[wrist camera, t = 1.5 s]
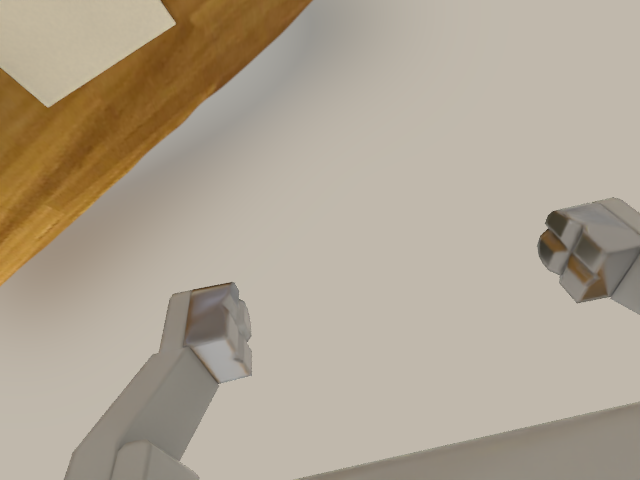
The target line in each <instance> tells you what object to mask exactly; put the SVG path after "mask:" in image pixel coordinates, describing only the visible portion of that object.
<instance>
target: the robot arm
mask: <svg viewBox="0 0 640 480" xmlns="http://www.w3.org/2000/svg"><path fill="white" fill-rule="evenodd" d="M545 224H546V226H547V227H548V229H547V230H546V231H545V232H544V233H543V234H542V235H541V236H540V238H539V242H538V245H537V247H538V254H539V257H540V259H541V261H542V263H543V264H544V265H545V267H546V268H547V269H548V270H549V271H551V272H554V273H556V274H558V275H560V281H559V283H560V284H561V285H562V287H563V288H564V289H565V290H566V291H567V292H568V293H569V295H570V296H571V297H572V298H573V299H574V300H575V302H576V303H581V302H586V301H591V300H596V299H601V298H607V297H611V299H612V300H614V301H616V302H618V303H620V304H621V305H623V306H625V307H627V308H628V309H630V310H632V311H634V312H636V313H637V314H639V315H640V213H639V212H637V211H636V210H635V209H633V208H632V207H630V206H629V205H628V204H627V203H625V202H624V201H623V200H620V199H618V198H614V197H613V198H609V199H605V200H600V201H595V202H592V203H586V204H582V205H577V206H573V207H569V208H565V209H561V210H556V211H553V212H551V213H550V214H549V215H548V217H547V219H546V222H545ZM250 337H251V323H250V316H249V313H248V309H247V307H246V305H245V302H244V301H242V300H240V299H239V290H238V288H237V286H236V285H235V283H234V282H230V283H225V284H220V285H214V286H210V287H204V288H199V289H194V290H190V291H185V292H180V293H175V294H173V295H172V297H171V298H170V300H169V305H168V310H167V315H166V320H165V325H164V330H163V335H162V339H161V345H160V350H159V353H157V354H153V355H152V356H151V357H150V358H149V360H148V361H147V362H146V363H145V365H144V366H143V367H142V368H141V369H140V371H139V372H138V373H137V374H136V376H135V377H134V378H133V379H132V380H131V382H130V383H129V384H128V385H127V387H126V388H125V389H124V390H123V392H122V393H121V394H120V395H119V396H118V398H117V399H116V400H115V401H114V403H113V404H112V405H111V406H110V407H109V409H108V410H107V411H106V412H105V414H104V415H103V416H102V417H101V419H100V420H99V421H98V422H97V424H96V425H95V426H94V427H93V428H92V430H91V431H90V432H89V433H88V435H87V436H86V437H85V438H84V439H83V441H82V442H81V443H80V444H79V446H78V447H77V448H76V449H75V451H74V452H73V453H72V457H71V460H70V463H69V466H68V469H67V472H66V475H65V478H64V480H199V477H198V475H197V474H196V473H195V472H194V471H192V470H191V469H189V468H188V467H186V466H185V465H183V464H182V463H181V462H179V461H180V459H181V457H182V455H183V453H184V452H185V450H186V448H187V446H188V444H189V442H190V440H191V438H192V436H193V434H194V433H195V431H196V429H197V427H198V425H199V423H200V421H201V419H202V417H203V415H204V413H205V412H206V410H207V408H208V406H209V404H210V402H211V400H212V398H213V396H214V394H215V392H216V391H217V389H218V387H219V385H218V384H219V383H224V382H227V381H232V380H236V379H240V378H244V377H248V376H252V354H251V352H252V351H251V349H250V348H249V346H248V344H247V342H248V340H249V339H250ZM295 480H640V402H636V403H632V404H627V405H623V406H619V407H614V408H609V409H605V410H601V411H596V412H592V413H587V414H583V415H578V416H574V417H570V418H565V419H561V420H556V421H552V422H547V423H543V424H538V425H534V426H530V427H525V428H521V429H516V430H512V431H508V432H503V433H499V434H494V435H490V436H485V437H481V438H476V439H473V440H468V441H463V442H459V443H454V444H450V445H445V446H441V447H437V448H432V449H428V450H423V451H419V452H414V453H410V454H406V455H401V456H397V457H393V458H388V459H383V460H379V461H374V462H370V463H365V464H361V465H357V466H352V467H348V468H343V469H339V470H334V471H330V472H326V473H321V474H317V475H312V476H308V477H303V478H299V479H295Z"/></svg>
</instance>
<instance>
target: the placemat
mask: <svg viewBox="0 0 640 480" xmlns="http://www.w3.org/2000/svg"><path fill="white" fill-rule="evenodd" d="M175 24H176V22H175V21H174V19H173V18H172V16H171V15H170V14H169V12H168V11H167V9H166V8H165V6H164V5H163V3H162V2H161V0H0V68H2V69H3V70H4V71H5V72H6V73H7V74H9V75H10V76H11V77H12V78H13V79H15V80H16V81H17V82H18V83H19V84H20V85H22V86H23V87H24V88H25V89H26V90H28V91H29V92H30V93H31V94H32V95H33V96H35V97H36V98H37V99H38V100H39V101H41V102H42V103H43V104H44V105H45V106H47V107H50V106H51V105H53V104H55V103H56V102H58V101H59V100H61V99H62V98H64V97H65V96H67V95H68V94H70V93H71V92H73V91H74V90H76V89H77V88H79V87H81V86H82V85H84V84H85V83H87V82H88V81H90V80H91V79H93V78H94V77H96V76H97V75H99V74H100V73H102V72H103V71H105V70H107V69H108V68H110V67H111V66H113V65H114V64H116V63H117V62H119V61H120V60H122V59H123V58H125V57H126V56H128V55H129V54H131V53H133V52H134V51H136V50H137V49H139V48H140V47H142V46H143V45H145V44H146V43H148V42H149V41H151V40H152V39H154V38H156V37H157V36H159V35H160V34H162V33H163V32H165V31H166V30H168V29H169V28H171V27H172V26H174V25H175Z"/></svg>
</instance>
